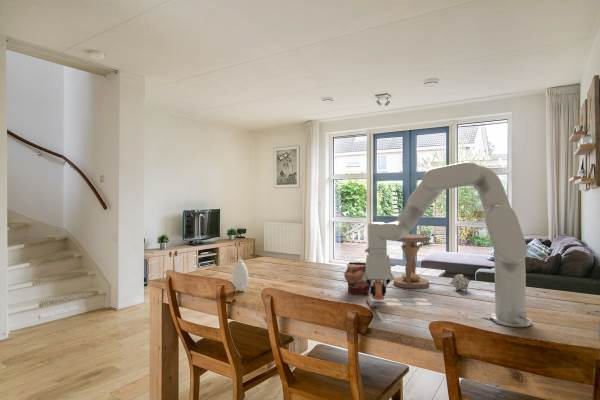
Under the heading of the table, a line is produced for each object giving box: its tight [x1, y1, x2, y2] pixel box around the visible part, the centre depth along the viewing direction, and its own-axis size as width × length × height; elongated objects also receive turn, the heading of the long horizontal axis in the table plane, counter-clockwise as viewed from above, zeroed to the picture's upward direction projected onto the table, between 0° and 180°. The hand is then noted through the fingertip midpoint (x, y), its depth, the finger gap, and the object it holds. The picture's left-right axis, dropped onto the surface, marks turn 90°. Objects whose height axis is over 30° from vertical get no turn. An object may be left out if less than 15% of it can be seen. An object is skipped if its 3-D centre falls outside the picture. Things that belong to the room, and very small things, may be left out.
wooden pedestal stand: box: [393, 233, 430, 290], centre depth 183 cm, size 18×18×25 cm
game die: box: [449, 272, 472, 293], centre depth 170 cm, size 9×8×10 cm
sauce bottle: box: [231, 257, 250, 291], centre depth 176 cm, size 8×8×18 cm
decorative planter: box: [343, 261, 370, 296], centre depth 171 cm, size 20×12×14 cm, turn 148°
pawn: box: [371, 280, 385, 300], centre depth 150 cm, size 5×5×10 cm
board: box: [366, 297, 433, 310], centre depth 150 cm, size 12×26×1 cm, turn 88°
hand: (378, 294), depth 150 cm, fingers closed on pawn, 3 cm apart
